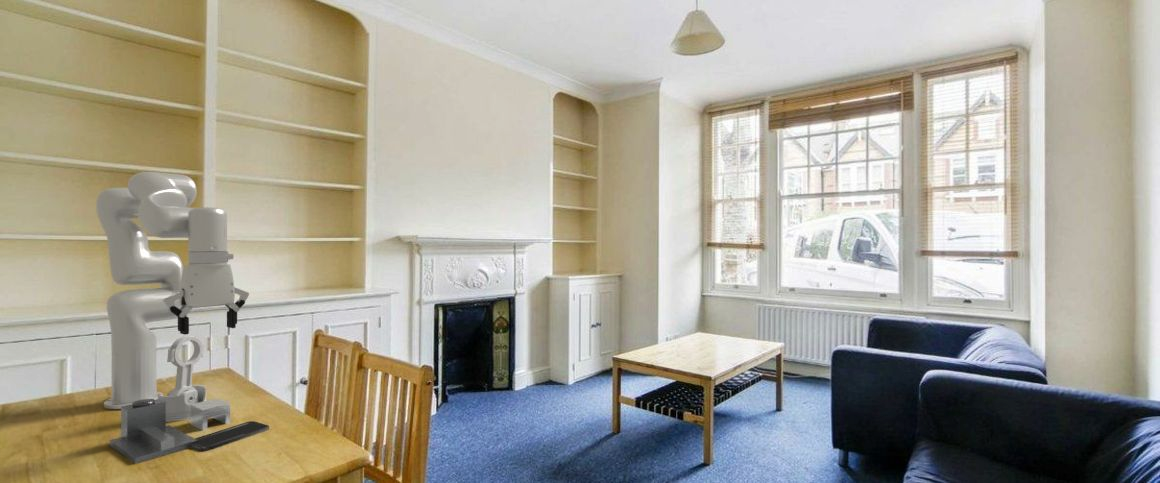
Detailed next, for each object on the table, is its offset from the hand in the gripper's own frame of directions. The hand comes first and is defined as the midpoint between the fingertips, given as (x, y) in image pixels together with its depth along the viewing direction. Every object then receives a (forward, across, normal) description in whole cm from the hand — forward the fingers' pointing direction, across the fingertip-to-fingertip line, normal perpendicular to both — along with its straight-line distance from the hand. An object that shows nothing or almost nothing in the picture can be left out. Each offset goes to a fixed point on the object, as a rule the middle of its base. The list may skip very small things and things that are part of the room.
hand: (208, 330), depth 122 cm
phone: (+25, -2, +6) cm, 26 cm away
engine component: (+24, -2, -20) cm, 31 cm away
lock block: (+24, -3, -7) cm, 26 cm away
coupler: (+24, +10, -2) cm, 27 cm away
